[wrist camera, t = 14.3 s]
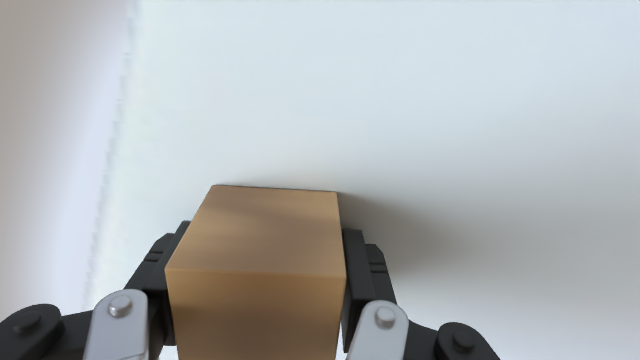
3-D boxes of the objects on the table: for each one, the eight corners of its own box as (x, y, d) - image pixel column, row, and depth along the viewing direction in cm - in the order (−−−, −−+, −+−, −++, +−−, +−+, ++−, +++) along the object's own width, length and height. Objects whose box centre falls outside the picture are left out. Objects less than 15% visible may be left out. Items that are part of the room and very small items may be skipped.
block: (218, 280, 15) (181, 385, 11) (211, 184, 13) (163, 268, 9) (326, 285, 15) (331, 391, 11) (337, 191, 13) (346, 277, 9)
